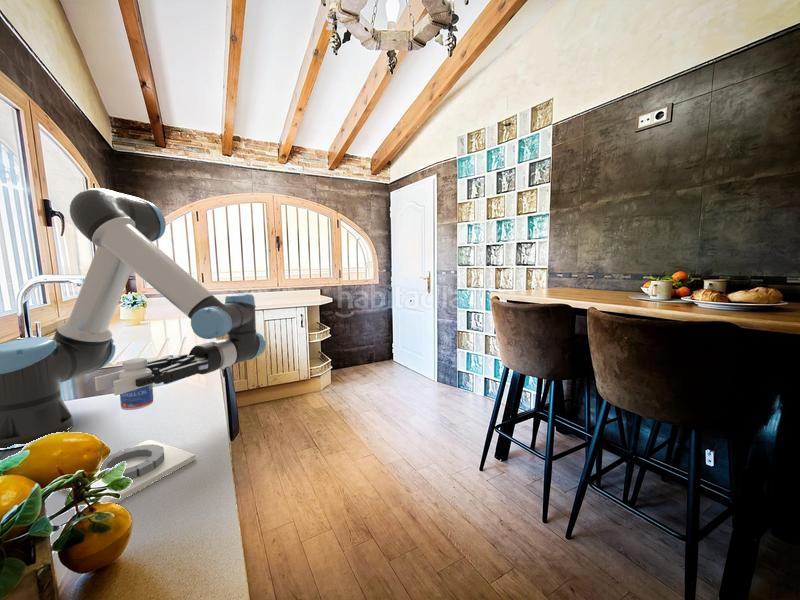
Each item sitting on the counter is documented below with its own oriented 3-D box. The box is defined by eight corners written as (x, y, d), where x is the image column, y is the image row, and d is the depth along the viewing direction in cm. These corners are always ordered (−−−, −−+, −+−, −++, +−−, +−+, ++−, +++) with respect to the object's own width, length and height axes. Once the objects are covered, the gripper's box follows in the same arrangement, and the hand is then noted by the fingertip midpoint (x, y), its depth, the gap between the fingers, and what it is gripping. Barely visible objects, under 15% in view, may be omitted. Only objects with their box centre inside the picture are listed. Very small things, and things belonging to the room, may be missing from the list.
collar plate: (57, 485, 62) (55, 472, 61) (150, 444, 76) (149, 433, 76) (104, 510, 55) (103, 495, 55) (195, 459, 70) (195, 447, 70)
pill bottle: (118, 413, 65) (113, 365, 65) (124, 403, 70) (120, 359, 69) (152, 407, 68) (148, 361, 67) (155, 398, 73) (152, 355, 72)
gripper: (239, 374, 82) (136, 412, 61) (189, 366, 89) (80, 398, 67) (238, 345, 81) (133, 372, 60) (187, 339, 88) (76, 362, 67)
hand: (105, 386), depth 64 cm, fingers closed on pill bottle, 5 cm apart
